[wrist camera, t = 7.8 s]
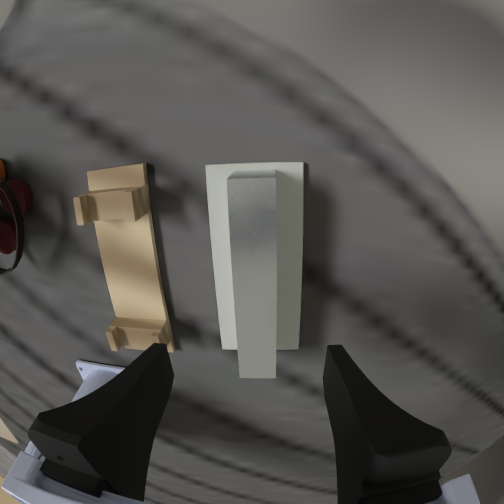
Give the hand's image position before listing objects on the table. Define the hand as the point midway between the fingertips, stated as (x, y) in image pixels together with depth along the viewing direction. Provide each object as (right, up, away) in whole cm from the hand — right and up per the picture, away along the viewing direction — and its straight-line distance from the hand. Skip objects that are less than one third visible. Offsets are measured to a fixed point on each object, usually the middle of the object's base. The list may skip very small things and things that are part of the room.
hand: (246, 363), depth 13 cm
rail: (+1, +4, +9) cm, 10 cm away
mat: (+1, +4, +10) cm, 10 cm away
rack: (-9, +4, +10) cm, 14 cm away
